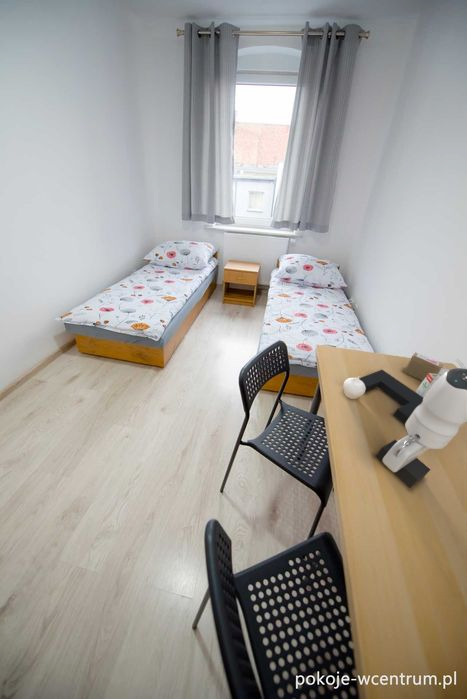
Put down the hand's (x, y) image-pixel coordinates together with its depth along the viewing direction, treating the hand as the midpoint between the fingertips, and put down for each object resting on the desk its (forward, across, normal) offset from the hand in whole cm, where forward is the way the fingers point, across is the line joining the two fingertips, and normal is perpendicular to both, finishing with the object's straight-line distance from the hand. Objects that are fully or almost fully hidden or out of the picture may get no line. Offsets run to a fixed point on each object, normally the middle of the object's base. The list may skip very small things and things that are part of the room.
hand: (401, 463), depth 73 cm
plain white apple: (+2, +10, +25) cm, 27 cm away
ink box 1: (+2, +45, +21) cm, 50 cm away
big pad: (+2, +23, +18) cm, 29 cm away
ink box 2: (+2, +36, +12) cm, 38 cm away
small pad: (+2, 0, 0) cm, 2 cm away
